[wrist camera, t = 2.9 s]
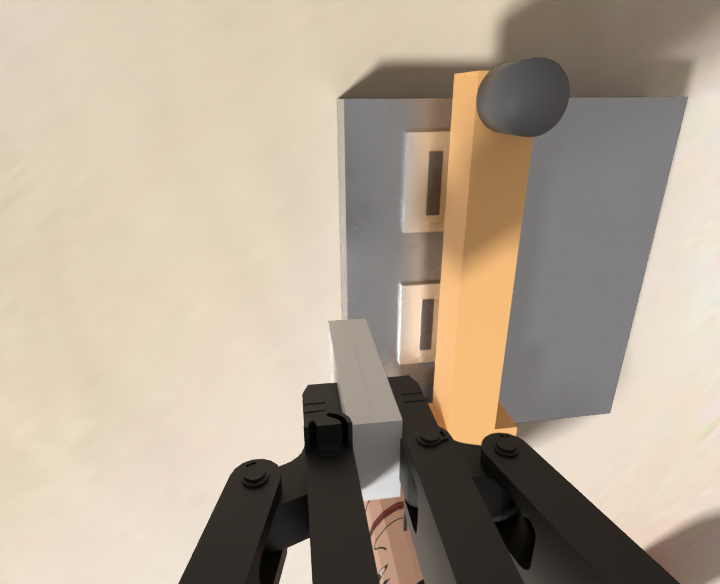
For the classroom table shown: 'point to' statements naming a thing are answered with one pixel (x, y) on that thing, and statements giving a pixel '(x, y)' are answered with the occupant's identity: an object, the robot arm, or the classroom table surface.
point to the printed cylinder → (392, 542)
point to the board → (536, 246)
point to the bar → (486, 235)
